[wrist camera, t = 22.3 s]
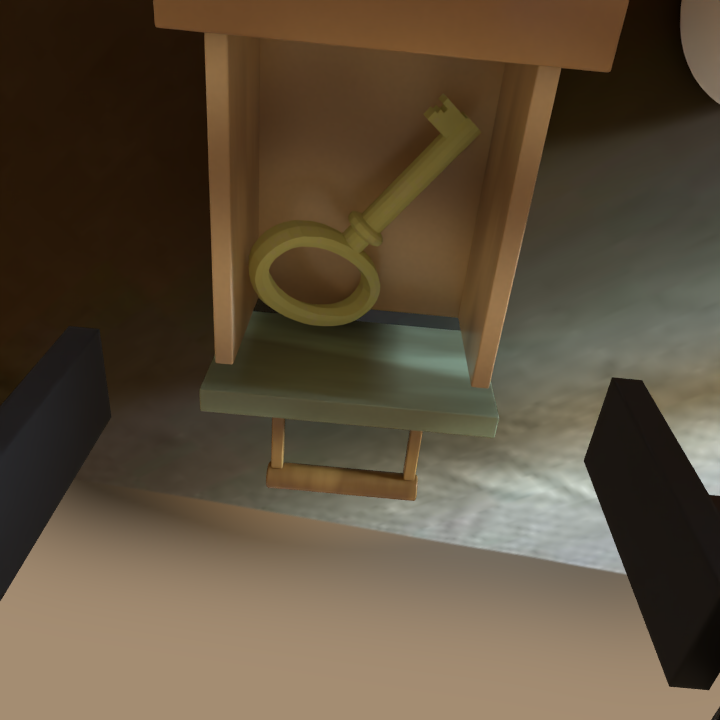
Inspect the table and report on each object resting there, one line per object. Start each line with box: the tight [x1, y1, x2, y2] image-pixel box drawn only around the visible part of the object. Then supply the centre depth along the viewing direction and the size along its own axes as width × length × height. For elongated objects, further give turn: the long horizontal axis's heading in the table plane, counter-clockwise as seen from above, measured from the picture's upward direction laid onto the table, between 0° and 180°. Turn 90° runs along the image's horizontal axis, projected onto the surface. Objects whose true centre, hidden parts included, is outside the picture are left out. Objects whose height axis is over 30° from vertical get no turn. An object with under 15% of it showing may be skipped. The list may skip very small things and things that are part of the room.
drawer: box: [199, 33, 561, 501], centre depth 30 cm, size 25×13×8 cm, turn 175°
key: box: [248, 93, 482, 326], centre depth 29 cm, size 7×12×2 cm
